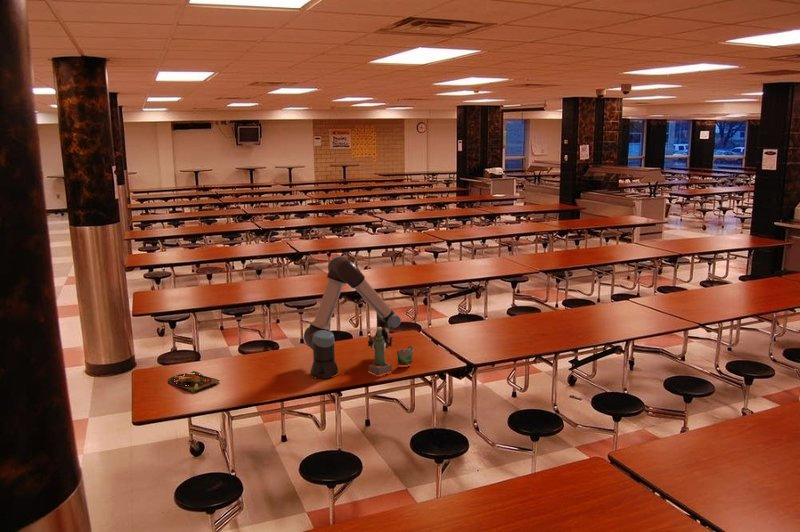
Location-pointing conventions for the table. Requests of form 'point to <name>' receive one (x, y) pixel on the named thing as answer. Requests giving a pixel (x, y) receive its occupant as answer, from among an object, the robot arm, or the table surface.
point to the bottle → (379, 348)
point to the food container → (405, 356)
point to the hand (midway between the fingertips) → (378, 348)
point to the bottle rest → (380, 369)
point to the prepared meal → (193, 381)
